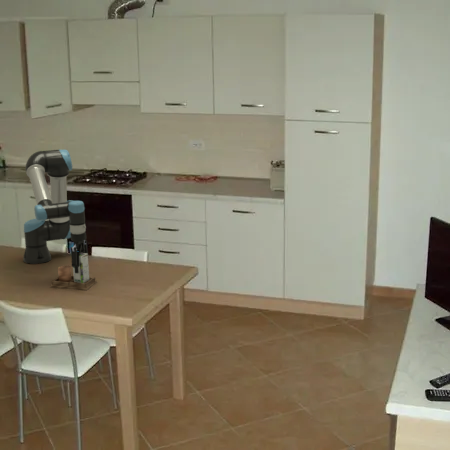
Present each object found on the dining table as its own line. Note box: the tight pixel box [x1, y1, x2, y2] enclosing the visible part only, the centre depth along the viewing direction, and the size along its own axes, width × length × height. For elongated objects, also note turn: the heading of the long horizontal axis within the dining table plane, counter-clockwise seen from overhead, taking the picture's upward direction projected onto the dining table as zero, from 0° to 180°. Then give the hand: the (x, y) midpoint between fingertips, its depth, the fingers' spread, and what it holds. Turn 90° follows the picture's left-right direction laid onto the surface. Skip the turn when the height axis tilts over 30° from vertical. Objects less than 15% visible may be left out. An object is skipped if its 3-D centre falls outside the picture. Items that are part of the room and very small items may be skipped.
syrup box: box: [72, 252, 90, 283], centre depth 348 cm, size 6×6×14 cm
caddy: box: [49, 265, 98, 291], centre depth 350 cm, size 20×12×9 cm, turn 75°
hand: (81, 276), depth 349 cm, fingers closed on syrup box, 7 cm apart
